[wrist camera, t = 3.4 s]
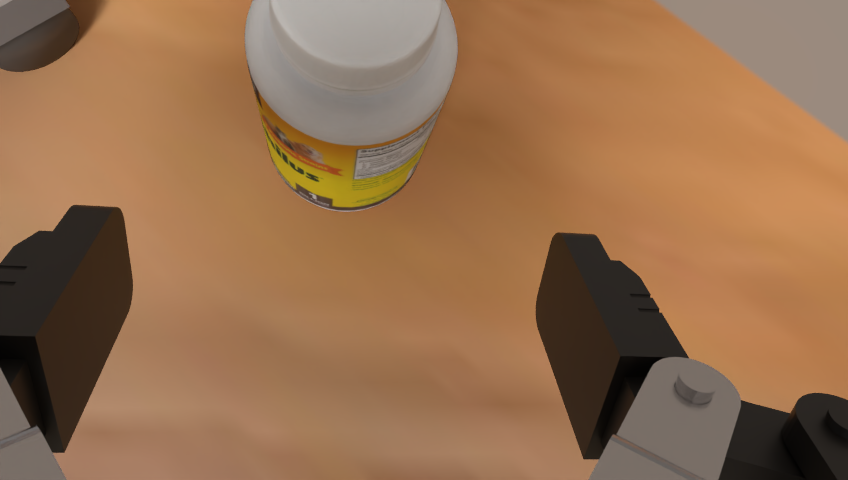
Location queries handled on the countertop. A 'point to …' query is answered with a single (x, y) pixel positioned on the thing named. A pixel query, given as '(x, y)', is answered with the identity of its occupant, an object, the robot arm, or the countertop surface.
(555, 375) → the robot arm
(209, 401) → the countertop surface
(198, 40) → the countertop surface
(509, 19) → the countertop surface
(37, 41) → the square grey tray
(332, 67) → the supplement bottle
